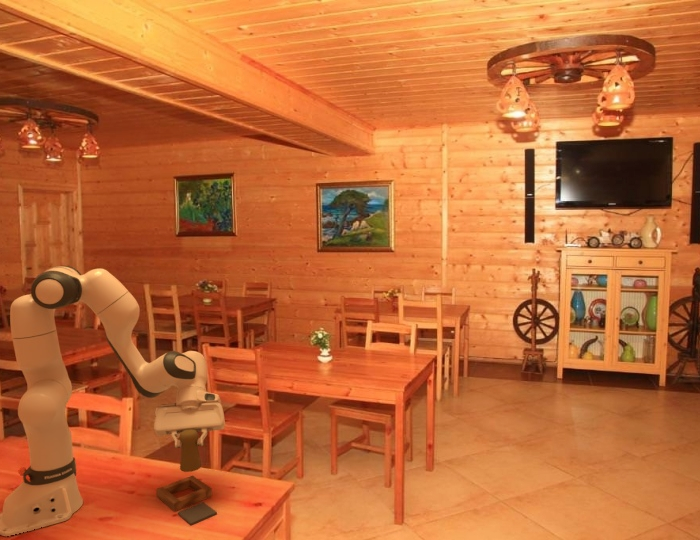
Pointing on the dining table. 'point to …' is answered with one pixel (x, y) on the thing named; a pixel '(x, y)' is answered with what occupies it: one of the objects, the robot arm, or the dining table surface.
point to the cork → (189, 451)
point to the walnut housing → (179, 503)
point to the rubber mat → (197, 513)
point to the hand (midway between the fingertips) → (189, 446)
